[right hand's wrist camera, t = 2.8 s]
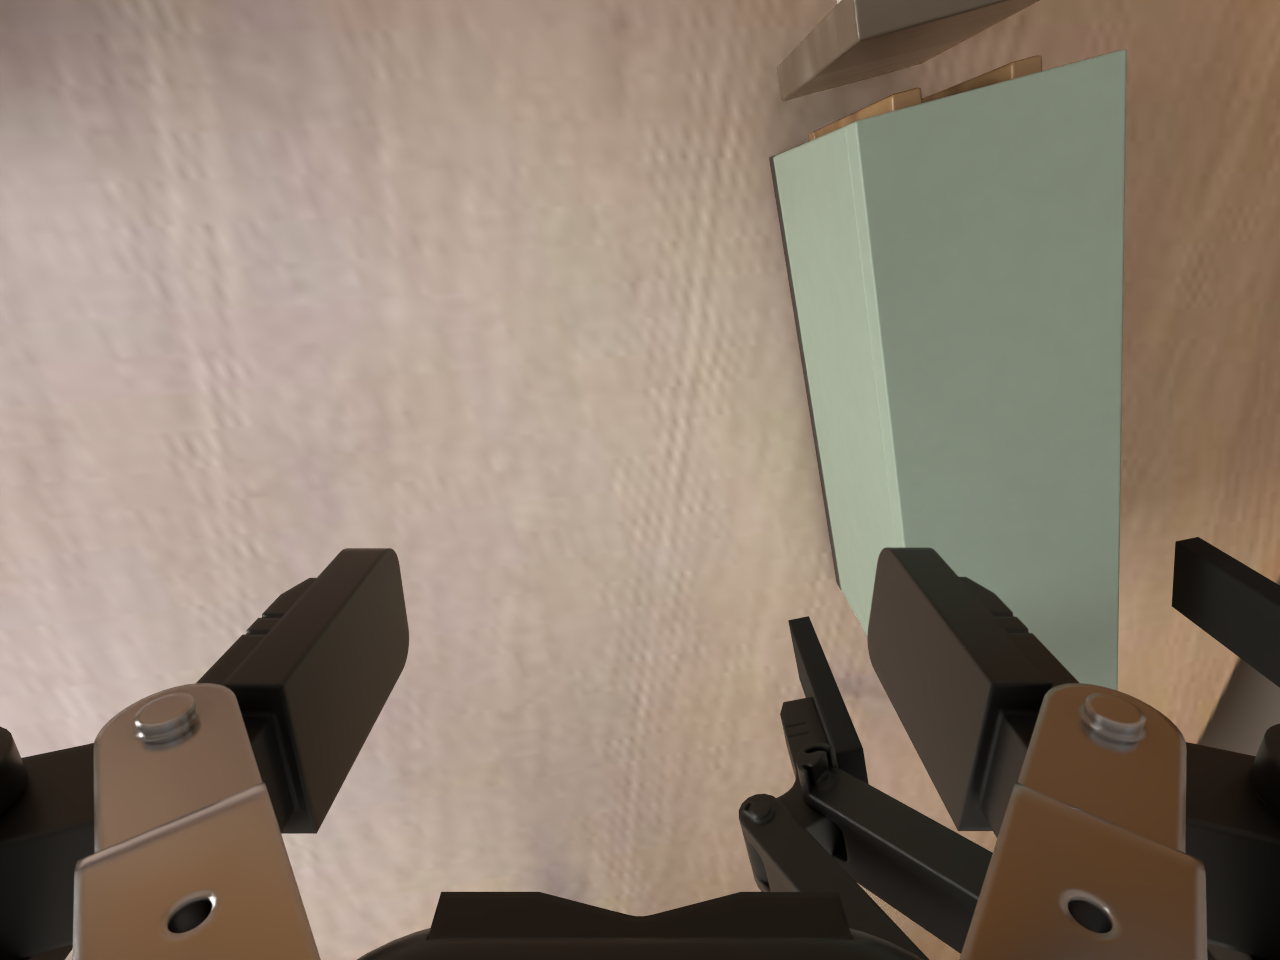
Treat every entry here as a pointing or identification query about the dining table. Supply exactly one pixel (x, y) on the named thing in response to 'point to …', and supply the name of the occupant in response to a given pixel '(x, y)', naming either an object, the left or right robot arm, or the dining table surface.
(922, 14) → the drawer
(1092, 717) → the right robot arm
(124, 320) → the dining table surface
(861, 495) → the cabinet
